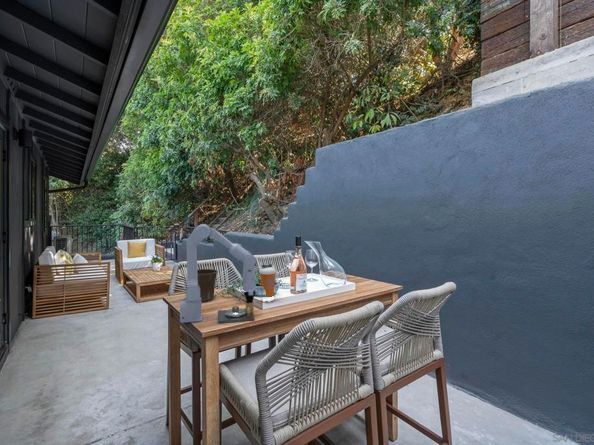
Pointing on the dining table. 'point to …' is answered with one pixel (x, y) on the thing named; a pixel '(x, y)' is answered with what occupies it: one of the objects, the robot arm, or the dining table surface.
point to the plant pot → (206, 283)
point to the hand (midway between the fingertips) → (249, 306)
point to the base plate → (225, 319)
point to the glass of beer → (268, 279)
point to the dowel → (248, 311)
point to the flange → (239, 310)
